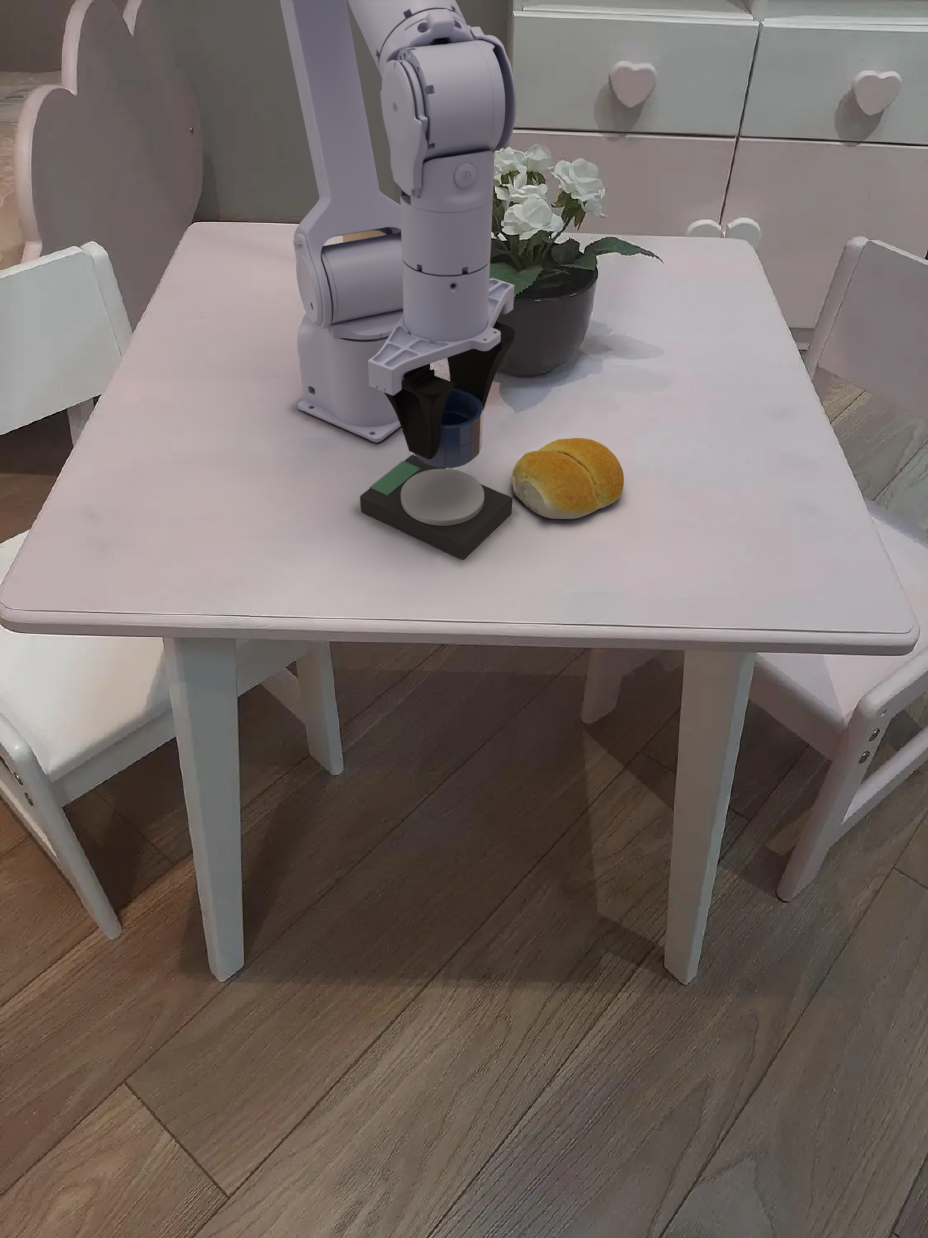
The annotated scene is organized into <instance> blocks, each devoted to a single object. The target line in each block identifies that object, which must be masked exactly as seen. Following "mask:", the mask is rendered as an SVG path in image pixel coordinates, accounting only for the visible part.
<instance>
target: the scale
mask: <svg viewBox="0 0 928 1238" xmlns="http://www.w3.org/2000/svg"><path fill="white" fill-rule="evenodd" d="M513 500H514V498H513V497H512V496H510V495H507V494H505V493H502V492H500V491H498V490H496V489H493V488H491V487H489V486H486V485H484V484H481V482H480V481H479V480H477V479H476V478H475V477H473V476H472V475H470V474H468V473H466V472H463V471H460V470H457V469H453V468H438V467H434V466H431V465H428V464H426V463H424V462H423V461H421V460H420V459H419V458H418V457H416V456H415V455H414V454H411V455H410V456H408V457H407V458H405V460H402V461H401V462H399V463H398V464H397V465H395V466H394V467H393V468H391V469H390V470H389V471H388V472H387V473H386V474H384V475H383V476H382V477H380V478H379V479H378V480H376V481H375V482H374V483H372V485H370V486H369V488H368V489H367V490H365V492H363V493H362V494H360V495H359V502H360V503H359V504H360V512H361V513H364V514H365V515H367V516H370V517H372V518H373V519H376V520H379V521H380V522H382V523H385V524H386V525H389V526H391V527H392V528H395V529H397V530H399V531H401V532H403V533H405V534H407V535H410V536H411V537H414V538H416V539H418V540H420V541H422V542H424V543H427V544H428V545H431V546H432V547H435V548H437V549H440V550H441V551H443V552H446V553H448V554H449V555H451V556H454V557H456V558H458V559H461V560H465V558H466V557H468V556H469V555H470V554H471V553H472V552H473V551H474V550H475V549H476V548H477V547H478V546H479V545H480V544H481V543H482V542H483V541H484V540H485V539H487V538H488V536H489V535H490V534H491V533H493V532H494V531H495V530H496V528H498V527H499V526H500V525H501V524H502V523H503V522H504V521H505V520H506V519H507V518H508V517H509V516H511V515H512V513H513V502H514V501H513Z"/></svg>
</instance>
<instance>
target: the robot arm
mask: <svg viewBox="0 0 928 1238" xmlns="http://www.w3.org/2000/svg"><path fill="white" fill-rule="evenodd" d="M347 3H348V5H349V7H350V10H351V12H352V14H353V17H354V19H355V21H356V23H357V25H358V28H359V30H360V32H361V34H362V36H363V39H364V41H365V43H366V46H367V48H368V50H369V53H370V55H371V57H372V59H373V61H374V63H375V66H376V68H377V70H378V73H379V75H380V77H381V90H380V104H381V113H382V119H383V124H384V129H385V132H386V136H387V140H388V146H389V151H390V152H389V155H390V170H391V171H392V179H393V181H394V183H395V184H397V185H398V186H399V199H400V202H399V203H398V202H396V201H395V200H393V199H391V198H390V197H389V196H387V195H386V194H385V193H383V192H381V189H380V185H379V180H378V179H379V178H378V175H377V169H376V163H375V157H374V150H373V147H372V145H373V144H372V141H371V139H372V138H371V135H370V129H369V123H368V122H369V121H368V118H367V112H366V111H367V110H366V106H365V100H364V96H363V88H362V85H361V78H360V72H359V67H358V60H357V56H356V50H355V43H354V39H353V32H352V26H351V23H350V22H351V21H350V16H349V11H348V5H347ZM279 4H280V8H281V14H282V18H283V23H284V29H285V33H286V38H287V42H288V47H289V53H290V58H291V62H292V68H293V74H294V78H295V83H296V88H297V94H298V97H299V102H300V107H301V112H302V118H303V123H304V127H305V133H306V137H307V143H308V147H309V152H310V157H311V162H312V167H313V172H314V177H315V182H316V187H317V192H318V200H317V202H316V203H315V204H314V206H313V207H312V208H311V209H310V210H309V212H308V213H307V214H306V215H305V216H304V218H302V220H301V221H300V222H299V223H298V225H297V226H296V228H295V231H294V234H293V240H292V243H293V244H292V245H293V250H294V255H295V262H296V263H295V266H296V267H295V271H296V281H297V289H298V292H299V296H300V299H301V303H302V306H303V308H304V311H305V314H304V316H303V318H302V319H301V322H300V324H299V328H298V332H297V338H296V339H297V340H296V345H297V354H298V363H299V371H300V380H301V381H300V382H301V389H302V400H300V401H298V403H297V408H298V410H300V411H303V412H305V413H307V414H310V415H311V416H314V417H316V418H319V419H321V420H323V421H325V422H328V423H330V424H332V425H335V426H337V427H340V428H342V429H344V430H346V431H347V432H348V431H349V432H351V433H353V434H355V435H358V436H360V437H362V438H365V439H366V440H368V441H371V442H374V443H380V442H382V441H384V440H385V439H386V438H387V437H388V436H390V435H391V434H392V433H394V432H395V431H396V430H398V429H399V428H401V431H402V433H403V437H404V439H405V444H406V446H407V449H408V451H409V452H411V453H412V454H413V453H415V454H417V455H420V456H422V457H424V458H427V459H432V458H433V457H434V456H436V453H437V450H438V446H439V439H440V429H441V420H442V415H443V411H444V407H445V404H446V401H447V399H448V396H449V394H450V392H451V390H452V389H453V388H456V389H462V390H464V391H467V392H470V393H472V394H474V395H475V396H476V397H477V398H478V399H480V401H481V403H482V406H483V411H485V408H486V404H487V401H488V400H487V399H488V397H489V394H490V390H491V388H492V385H493V382H494V379H495V377H496V374H497V371H498V369H499V368H500V365H501V363H502V361H503V359H504V358H505V356H506V354H507V352H508V351H509V349H510V348H511V347H512V345H513V344H514V343H515V339H516V330H515V329H514V328H513V327H512V326H510V325H508V324H505V323H501V322H500V321H498V319H499V316H500V314H502V315H507V314H509V313H510V312H511V311H513V310H514V301H515V284H512V283H509V282H507V281H504V280H501V279H497V278H495V277H490V275H491V252H492V251H491V250H492V231H493V230H492V228H493V226H492V225H493V203H494V202H493V201H494V183H495V180H494V179H495V178H494V177H495V153H494V152H493V150H495V149H496V150H498V149H503V148H504V147H505V146H506V145H508V143H509V141H510V139H511V137H512V134H513V132H514V128H515V123H516V115H517V91H516V83H515V77H514V72H513V69H512V65H511V61H510V59H509V57H508V55H507V52H506V49H505V46H504V44H503V42H502V41H501V40H500V39H499V38H497V36H495V35H492V34H485V33H484V32H483V30H482V28H481V26H471V25H468V23H467V21H466V19H465V17H464V15H463V12H462V11H461V9H460V6H459V5H458V2H457V0H279ZM371 230H373V231H380V232H382V233H384V234H386V235H383V236H377V237H372V238H366V239H360V240H354V241H349V242H343V241H342V242H338V243H332V244H326V243H327V242H328V240H330V239H333V238H335V237H342V236H343V235H347V234H353V233H359V232H365V231H371ZM445 359H447V366H448V371H449V380H447V379H445V378H442V377H439V376H437V375H436V370H435V369H434V368H432V369H431V364H433V363H436V362H439V361H441V360H445Z"/></svg>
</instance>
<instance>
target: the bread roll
mask: <svg viewBox="0 0 928 1238" xmlns="http://www.w3.org/2000/svg"><path fill="white" fill-rule="evenodd" d="M510 479H511V486H512V490H513V492H514V495H515V496H516V497H517V498H518V499H519V500H520V501H521V502H522V503H523V504H524V506H525V507H527V508H529V510H531V511H532V512H533V513H535V514H537V515H539V516H541V517H544V518H547V519H551V520H556V519H557V520H575V519H580V518H582V517H583V518H584V517H585V516H588V515H590V514H592V513H594V512H596V511H598V510H599V509H604V508H606V507H608V506H610V505H611V504H613V503H615V502H617V501H618V500H619V499H620V498H621V496H622V494H623V490H624V485H625V478H624V471H623V468H622V465H621V463H620V460H619V459H618V458H617V456H616V455H615V453H613V452H612V451H611V449H609V447H607V446H606V445H604V444H602V443H600V442H598V441H596V440H593V439H592V438H591V439H590V438H585V437H571V438H570V437H569V438H558V439H555V440H554V441H553V440H552V441H551V442H549V443H547V444H545V445H544V446H542V447H540V448H539V449H537V450H533V451H529V452H527V453H524V454H523V455H522V456H521V457H520V459H518V461H517V462H516V464H515V465H514V468H513V469H512V474H511V477H510Z"/></svg>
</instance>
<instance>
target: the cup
mask: <svg viewBox="0 0 928 1238" xmlns="http://www.w3.org/2000/svg"><path fill="white" fill-rule="evenodd" d="M483 425H484V410H483V406H482V403H481V401H480V399H478V398H477V397H476V396H475V395H474V394H472V393H470V392H467V391H464V390H462V389H456V388H453V389H452V390H451V392H450V394H449V396H448V399H447V401H446V404H445V407H444V411H443V415H442V420H441V429H440V439H439V446H438V450H437V453H436V456H434V457H433V458H432V459H427V458H424V457H422V456H420V455H417V454H415V453H413V452H412V455H415V456H416V457H418V458H419V459H420V460H421V461H423V462H424V463H426V464H428V465H431V466H434V467H438V468H445V469H453V468H460V467H462V466H465V465H466V464H468V463H470V462H472V461H473V460H474V459H475V458H477V457H478V456H479V455H480V452H481V450H482V445H483V427H484V426H483Z"/></svg>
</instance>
